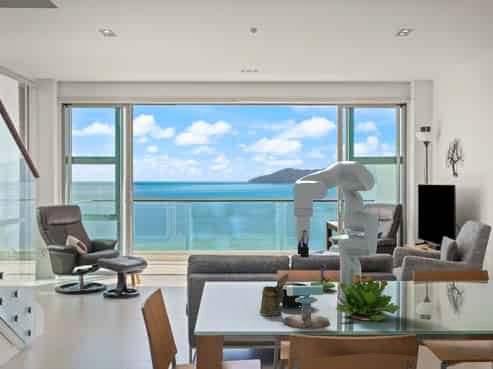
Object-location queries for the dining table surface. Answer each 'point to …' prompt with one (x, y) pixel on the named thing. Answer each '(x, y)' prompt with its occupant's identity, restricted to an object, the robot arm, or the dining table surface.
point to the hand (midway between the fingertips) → (303, 255)
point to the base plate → (303, 323)
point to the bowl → (290, 300)
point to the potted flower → (366, 299)
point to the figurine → (323, 283)
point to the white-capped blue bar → (305, 293)
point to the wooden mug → (273, 297)
